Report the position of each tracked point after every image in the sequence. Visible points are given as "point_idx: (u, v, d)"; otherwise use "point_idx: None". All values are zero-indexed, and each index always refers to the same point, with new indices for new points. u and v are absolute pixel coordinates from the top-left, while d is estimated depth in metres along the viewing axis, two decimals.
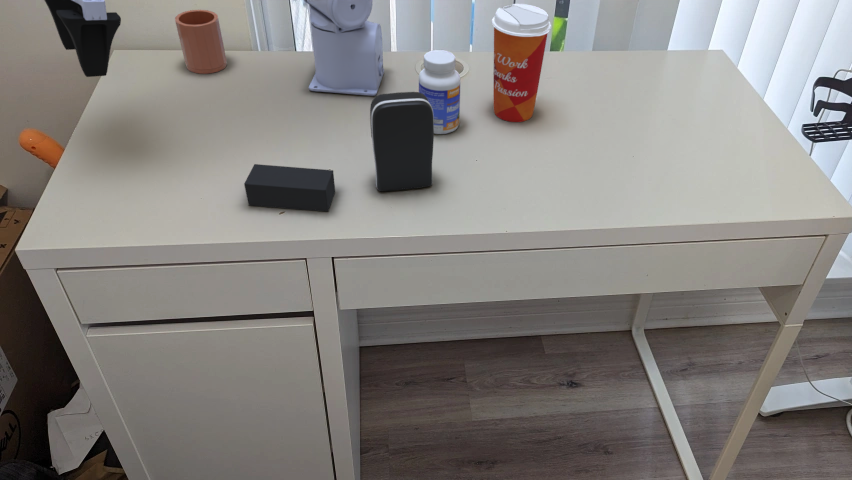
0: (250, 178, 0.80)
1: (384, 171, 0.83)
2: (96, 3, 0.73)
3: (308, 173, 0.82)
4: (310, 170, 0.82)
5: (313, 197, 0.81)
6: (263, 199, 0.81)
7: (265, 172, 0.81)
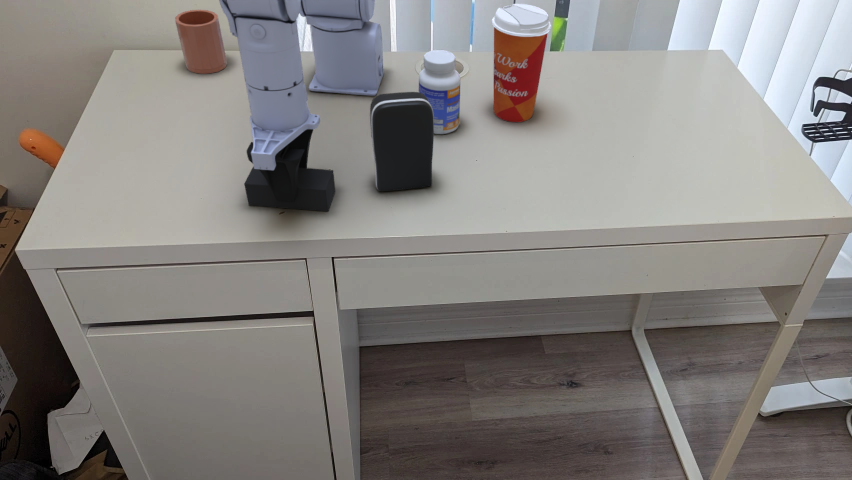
0: (250, 178, 0.80)
1: (384, 171, 0.83)
2: None
3: (308, 173, 0.82)
4: (310, 170, 0.82)
5: (313, 197, 0.81)
6: (263, 199, 0.81)
7: None
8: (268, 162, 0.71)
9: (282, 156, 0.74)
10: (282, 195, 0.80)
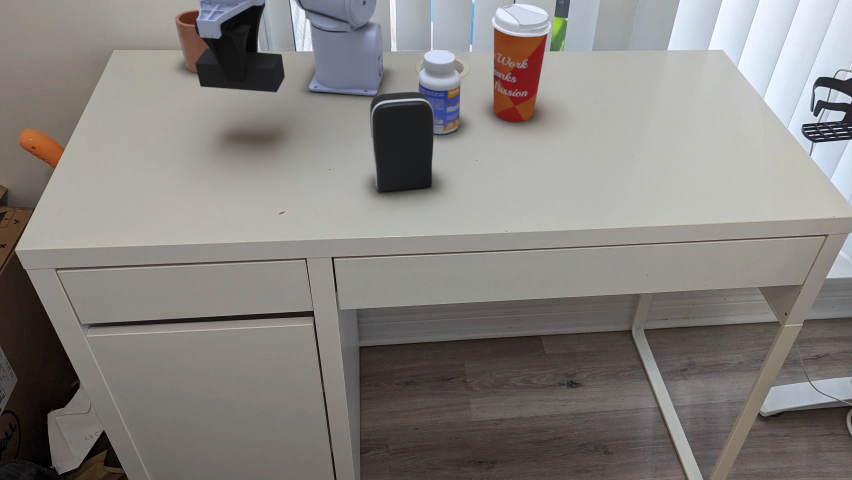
0: (201, 59, 0.84)
1: (384, 171, 0.83)
2: None
3: (257, 56, 0.86)
4: (259, 53, 0.86)
5: (261, 77, 0.84)
6: (214, 79, 0.85)
7: None
8: (213, 29, 0.75)
9: (228, 29, 0.78)
10: (232, 74, 0.83)
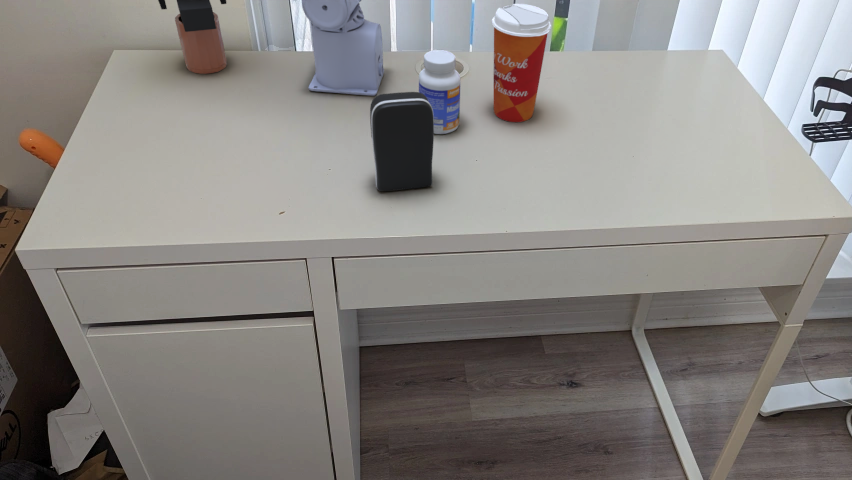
0: None
1: (384, 171, 0.83)
2: None
3: (200, 0, 0.97)
4: (205, 0, 0.98)
5: None
6: (177, 3, 1.01)
7: None
8: None
9: None
10: None
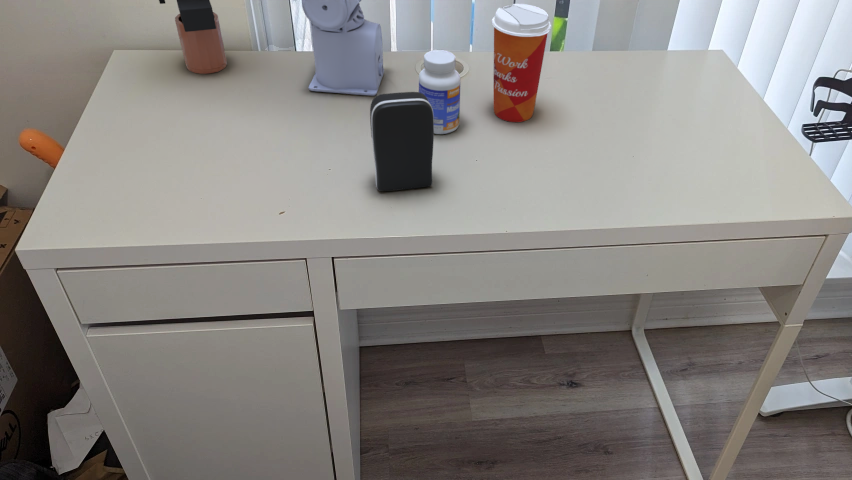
0: None
1: (384, 171, 0.83)
2: None
3: (200, 0, 0.97)
4: (205, 0, 0.98)
5: None
6: (177, 3, 1.01)
7: None
8: None
9: None
10: None
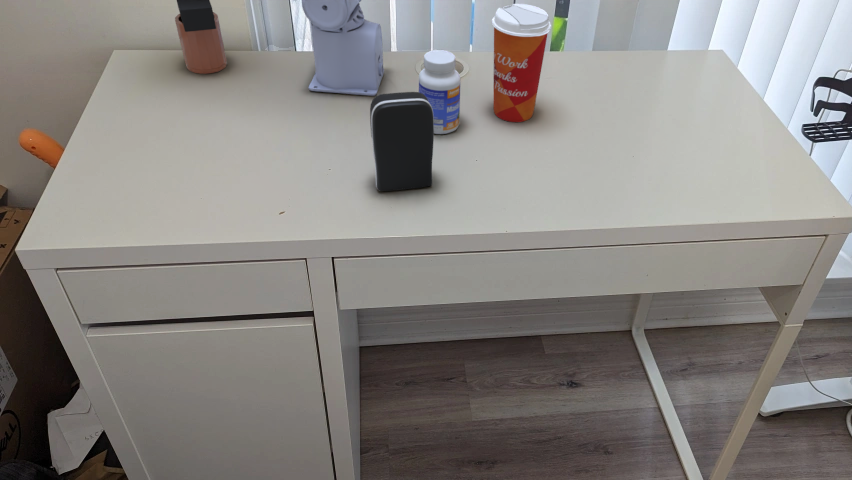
0: None
1: (384, 171, 0.83)
2: None
3: (200, 0, 0.97)
4: (205, 0, 0.98)
5: None
6: (177, 3, 1.01)
7: None
8: None
9: None
10: None
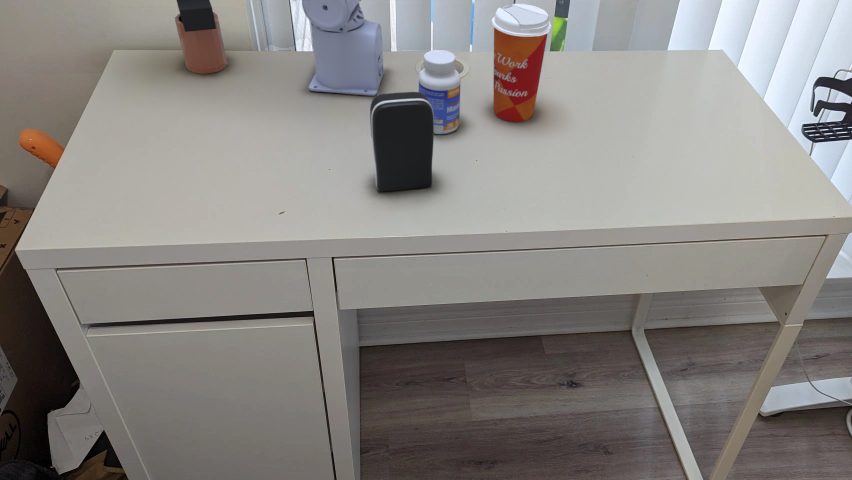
0: None
1: (384, 171, 0.83)
2: None
3: (200, 0, 0.97)
4: (205, 0, 0.98)
5: None
6: (177, 3, 1.01)
7: None
8: None
9: None
10: None
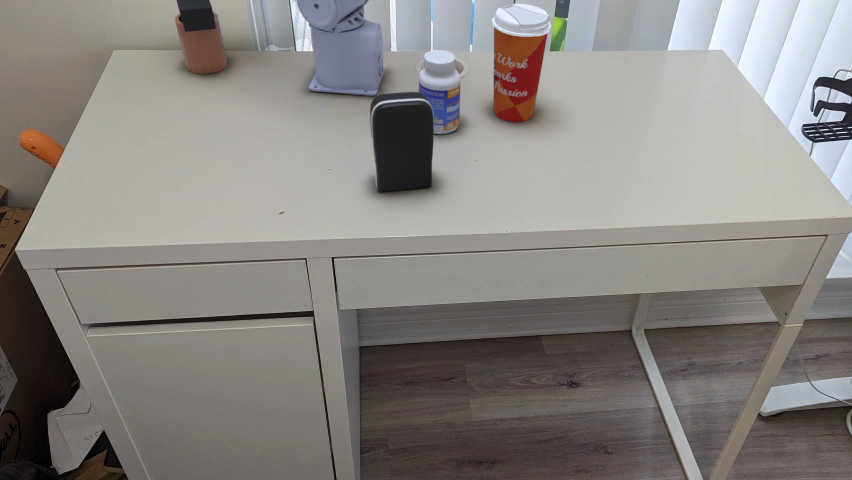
0: None
1: (384, 171, 0.83)
2: None
3: (200, 0, 0.97)
4: (205, 0, 0.98)
5: None
6: (177, 3, 1.01)
7: None
8: None
9: None
10: None
